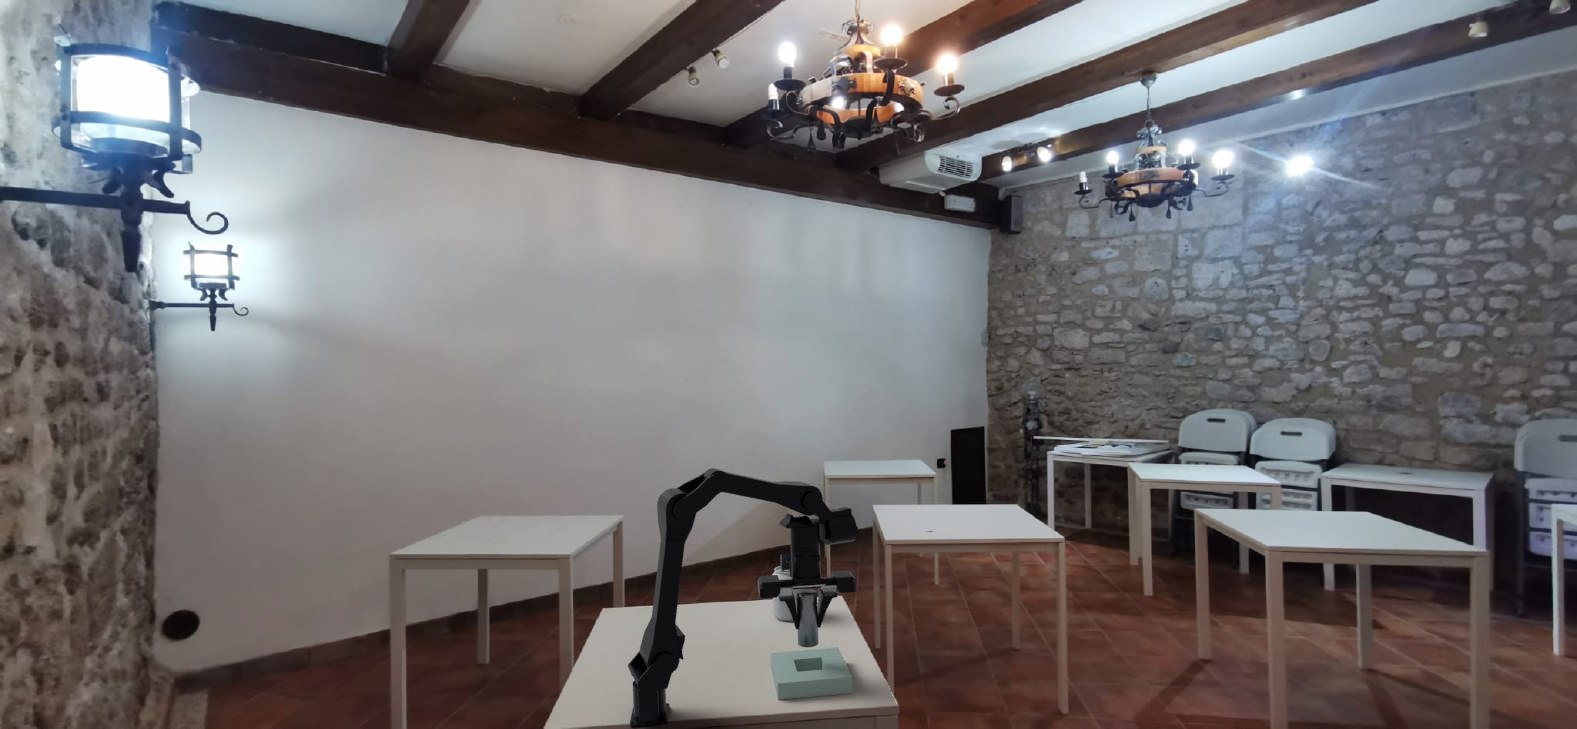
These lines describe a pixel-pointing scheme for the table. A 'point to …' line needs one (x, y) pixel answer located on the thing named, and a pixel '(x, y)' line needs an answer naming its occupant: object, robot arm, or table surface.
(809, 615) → the peg
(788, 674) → the socket block
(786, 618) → the can
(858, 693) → the table surface
